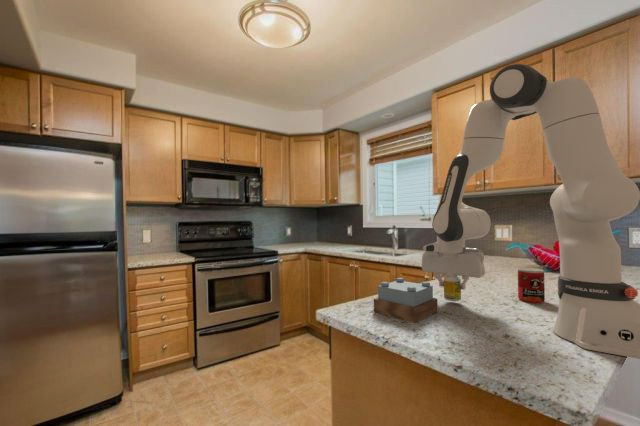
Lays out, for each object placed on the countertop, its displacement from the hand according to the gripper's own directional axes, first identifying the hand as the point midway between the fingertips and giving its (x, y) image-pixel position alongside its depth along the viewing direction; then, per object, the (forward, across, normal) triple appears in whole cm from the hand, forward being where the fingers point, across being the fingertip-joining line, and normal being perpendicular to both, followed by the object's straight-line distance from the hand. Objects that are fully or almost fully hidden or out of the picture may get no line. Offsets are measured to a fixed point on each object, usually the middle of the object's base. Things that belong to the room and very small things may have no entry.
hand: (452, 287), depth 102 cm
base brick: (+5, +6, +20) cm, 21 cm away
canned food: (+6, -18, -23) cm, 29 cm away
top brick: (+1, +6, +20) cm, 21 cm away
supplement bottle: (+4, 0, 0) cm, 4 cm away
